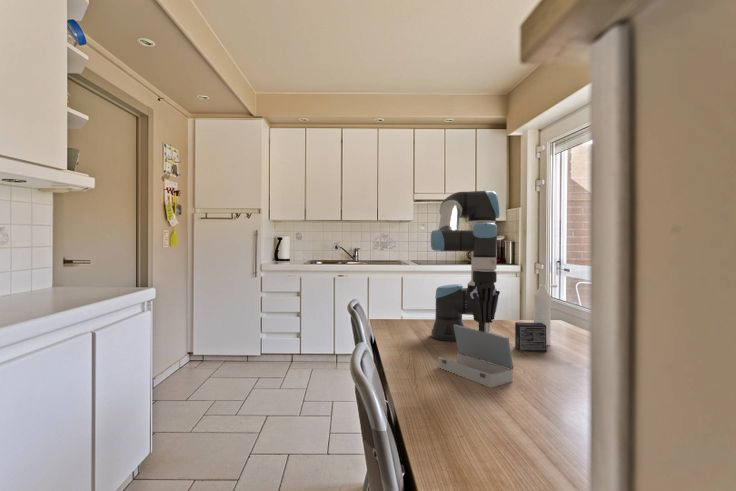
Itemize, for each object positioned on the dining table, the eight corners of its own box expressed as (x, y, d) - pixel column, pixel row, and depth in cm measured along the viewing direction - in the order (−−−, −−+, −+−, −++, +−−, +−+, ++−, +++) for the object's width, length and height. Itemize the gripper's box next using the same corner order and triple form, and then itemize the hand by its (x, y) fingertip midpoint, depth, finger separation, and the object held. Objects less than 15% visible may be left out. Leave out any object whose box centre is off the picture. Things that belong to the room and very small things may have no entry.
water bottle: (534, 345, 166) (535, 284, 166) (532, 341, 172) (533, 283, 172) (557, 346, 164) (558, 285, 163) (555, 343, 170) (556, 284, 169)
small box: (541, 348, 162) (541, 322, 162) (547, 352, 155) (547, 325, 155) (514, 347, 163) (514, 321, 163) (518, 351, 156) (519, 324, 156)
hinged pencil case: (437, 367, 135) (437, 357, 135) (459, 362, 141) (459, 352, 141) (490, 388, 117) (490, 376, 117) (512, 381, 123) (512, 369, 123)
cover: (453, 325, 139) (455, 324, 140) (458, 353, 141) (460, 351, 141) (506, 338, 121) (509, 337, 122) (512, 370, 123) (514, 368, 123)
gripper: (480, 271, 125) (479, 347, 125) (506, 270, 132) (506, 342, 132) (462, 270, 131) (461, 342, 131) (488, 269, 138) (487, 337, 138)
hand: (483, 342), depth 131 cm, fingers closed
